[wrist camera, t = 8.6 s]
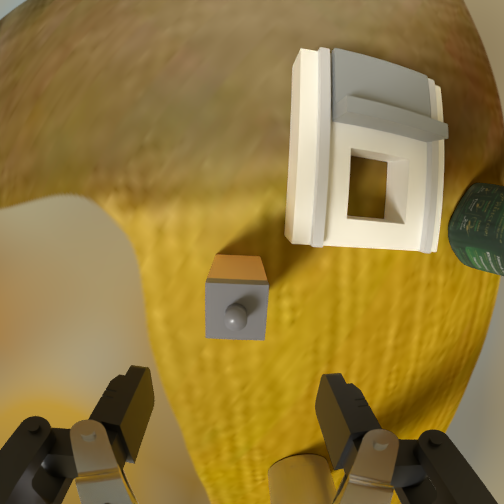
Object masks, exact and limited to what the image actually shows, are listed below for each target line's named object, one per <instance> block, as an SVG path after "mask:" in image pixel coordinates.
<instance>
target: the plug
mask: <svg viewBox="0 0 504 504" xmlns="http://www.w3.org/2000/svg"><path fill="white" fill-rule="evenodd" d="M268 292H269V284H268V280H267V277H266V273H265V270H264V267H263V263H262V260H261V256H244V255H222V254H216V255H215V258H214V261H213V263H212V266H211V269H210V272H209V274H208V277H207V280H206V284H205V316H206V338H216V339H237V340H265V329H266V317H267V305H268Z"/></svg>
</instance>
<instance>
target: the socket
mask: <svg viewBox="0 0 504 504" xmlns="http://www.w3.org/2000/svg"><path fill="white" fill-rule="evenodd" d="M427 80H428V89H429V100H430V114H431V118H432V119H435V120H438V121H441V122H443V108H442V97H441V88H440V87H439V86H436V85H435V82H434V80H432V79H429V78H427ZM351 156H356V157H362V158H368V159H374V160H379V161H384V162H388V166H387V186H386V200H385V212H384V219H379V218H369V217H358V216H348V215H347V208H348V195H349V179H350V158H351ZM443 184H444V139H443V140H437V141H431V142H423V141H420V140H416V139H412V138H409V137H405V136H401V135H397V134H393V133H389V132H384V131H380V130H375V129H371V128H366V127H361V126H355V125H350V124H344V123H339V122H332V54H330V49H327V48H322V47H320V48H319V50H318V51H313V50H307V49H300V51H299V53H298V56H297V58H296V60H295V62H294V64H293V66H292V99H291V126H290V148H289V168H288V185H287V202H286V217H285V231H284V236H285V237H286V238H287V239H288V240H289V241H290V242H291V243H292V244H305V245H311V246H312V247H323V245H324V246H343V247H361V248H379V249H396V250H412V251H421V252H423V253H431V252H437V245H438V238H439V230H440V222H441V212H442V200H443Z"/></svg>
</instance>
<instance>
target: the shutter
mask: <svg viewBox="0 0 504 504" xmlns="http://www.w3.org/2000/svg"><path fill="white" fill-rule="evenodd" d="M332 122H339V123H344V124H350V125H355V126H361V127H366V128H371V129H375V130H380V131H384V132H389V133H393V134H397V135H401V136H405V137H409V138H412V139H416V140H420V141H423V142H431V141H437V140H443V139H448V124H446V123H443V122H441V121H438V120H435V119H432V118H431V114H430V100H429V89H428V80H427V75H424V74H421V73H419V72H416V71H414V70H411V69H408V68H405V67H402V66H399V65H397V64H393V63H390V62H387V61H384V60H381V59H377V58H374V57H370V56H367V55H363V54H359V53H355V52H351V51H347V50H342V49H338V48H334V49H333V50H332Z"/></svg>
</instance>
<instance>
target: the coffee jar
mask: <svg viewBox="0 0 504 504" xmlns="http://www.w3.org/2000/svg"><path fill="white" fill-rule="evenodd" d="M448 238H449V242H450V245H451V247H452V250H453V251H454V253H455V255H456V256H457V257H458V259H459V260H460V261H461V262H462V263H463V264H464V265H466V266H469V267H472V268H475V269H478V270H482V271H486V272H490V273H494V274H498V275H501V276H504V186H499V185H494V184H487V183H475V184H473V185H472V186H471V187H470V188H469V189H468V190H467V192H466V193H465V195H464V196H463V197H462V199H461V201H460V202H459V204H458V206H457V208H456V209H455V211H454V213H453V215H452V217H451V220H450V222H449V226H448Z"/></svg>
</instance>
